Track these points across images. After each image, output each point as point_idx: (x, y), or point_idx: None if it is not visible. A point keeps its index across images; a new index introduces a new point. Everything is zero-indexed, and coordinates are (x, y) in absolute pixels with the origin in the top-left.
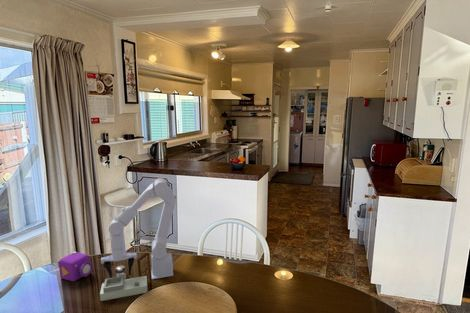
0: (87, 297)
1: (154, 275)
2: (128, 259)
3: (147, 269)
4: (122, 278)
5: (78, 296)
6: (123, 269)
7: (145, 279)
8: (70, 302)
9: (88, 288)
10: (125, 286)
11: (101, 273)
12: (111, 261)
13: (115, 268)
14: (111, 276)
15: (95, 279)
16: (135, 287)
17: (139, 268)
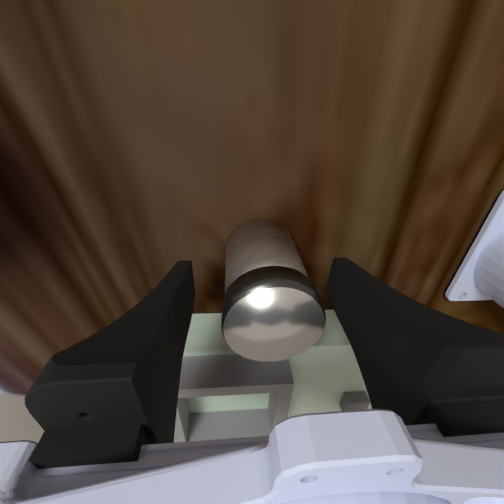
0: None
1: (479, 286)
2: (417, 421)
3: (489, 147)
4: (285, 405)
5: (21, 337)
6: (304, 349)
7: None
8: (8, 368)
9: (39, 280)
10: (292, 398)
11: (27, 45)
12: (174, 456)
13: (225, 329)
14: (191, 308)
15: (24, 168)
16: (340, 409)
17: (438, 94)
